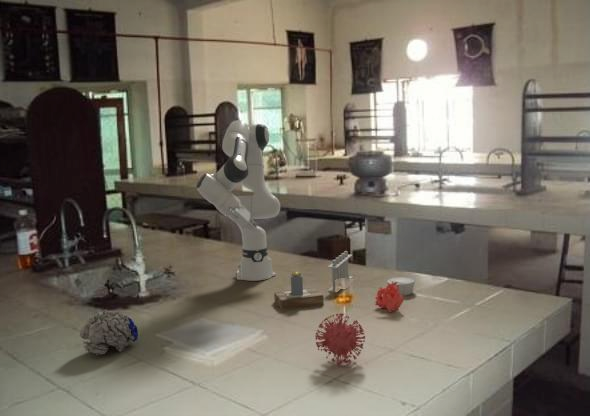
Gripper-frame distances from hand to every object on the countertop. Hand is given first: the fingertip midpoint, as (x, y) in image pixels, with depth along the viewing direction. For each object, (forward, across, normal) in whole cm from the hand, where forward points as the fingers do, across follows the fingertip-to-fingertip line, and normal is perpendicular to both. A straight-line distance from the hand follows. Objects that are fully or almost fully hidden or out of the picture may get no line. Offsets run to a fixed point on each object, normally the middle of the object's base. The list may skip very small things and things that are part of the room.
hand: (256, 228), depth 254 cm
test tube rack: (+47, +18, -3) cm, 50 cm away
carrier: (+29, -8, +8) cm, 31 cm away
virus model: (+38, -71, +2) cm, 81 cm away
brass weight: (+24, -8, +3) cm, 25 cm away
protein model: (+56, -22, -14) cm, 62 cm away
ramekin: (+63, 0, -20) cm, 66 cm away
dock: (+32, -8, +10) cm, 35 cm away
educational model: (-14, -49, +55) cm, 75 cm away
